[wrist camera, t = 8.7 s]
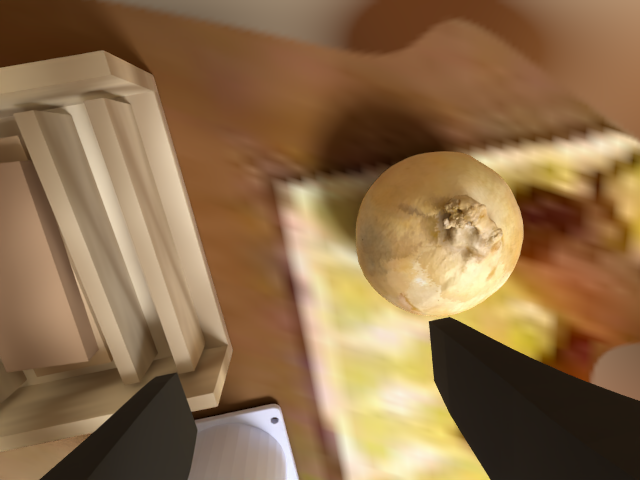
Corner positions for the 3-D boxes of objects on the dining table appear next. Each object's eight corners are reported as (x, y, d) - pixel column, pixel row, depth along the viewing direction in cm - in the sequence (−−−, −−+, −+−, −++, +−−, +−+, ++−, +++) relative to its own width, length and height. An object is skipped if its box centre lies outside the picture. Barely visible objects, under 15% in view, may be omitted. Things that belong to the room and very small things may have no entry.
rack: (153, 75, 16) (103, 50, 12) (232, 350, 21) (218, 406, 16) (-191, 135, 16) (-376, 131, 11) (-34, 405, 20) (-123, 477, 16)
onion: (507, 207, 20) (619, 241, 13) (419, 309, 21) (480, 387, 15) (406, 120, 18) (477, 107, 11) (317, 237, 19) (333, 288, 13)
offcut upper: (35, 160, 16) (19, 161, 15) (98, 349, 18) (88, 361, 17) (-57, 170, 15) (-80, 171, 14) (21, 360, 18) (6, 372, 17)
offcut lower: (33, 135, 16) (17, 135, 15) (119, 351, 20) (111, 362, 19) (-53, 151, 16) (-75, 151, 15) (49, 365, 19) (37, 377, 18)
